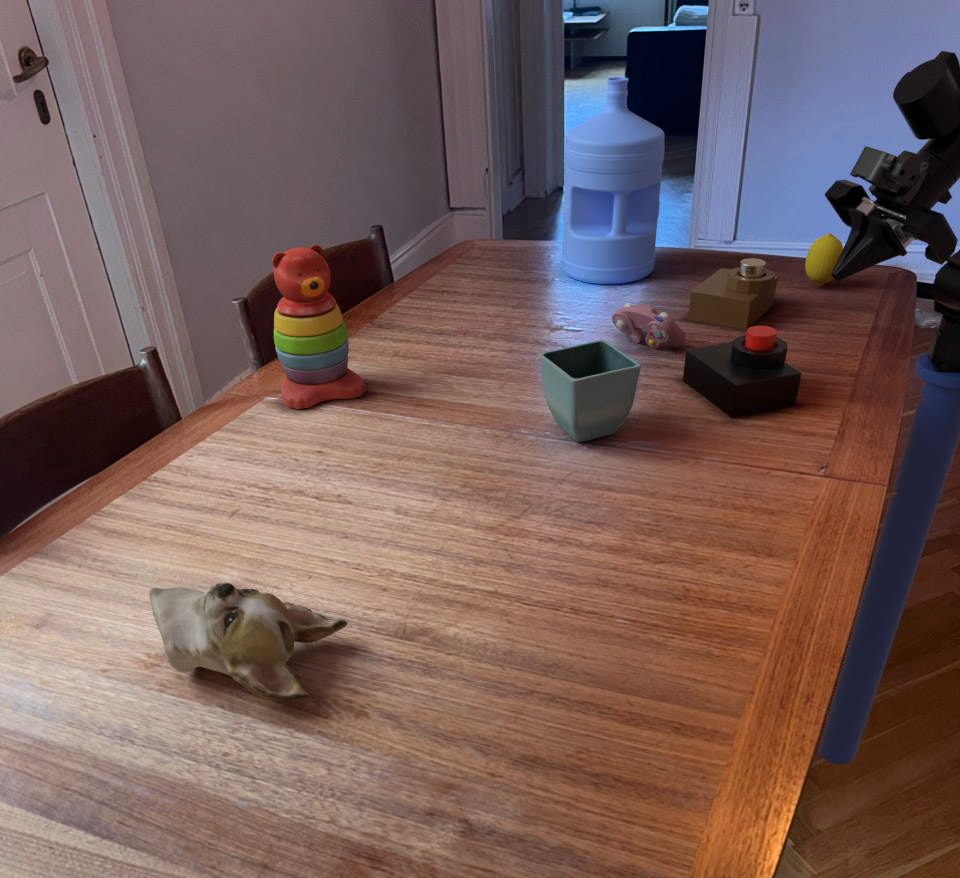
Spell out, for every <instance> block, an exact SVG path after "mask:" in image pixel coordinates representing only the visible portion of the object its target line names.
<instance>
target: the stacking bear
mask: <svg viewBox="0 0 960 878" xmlns="http://www.w3.org/2000/svg"><path fill="white" fill-rule="evenodd" d="M271 264H272V266H273V278H274V282H275V285H276V287H277V289H278V292H279V293H280V294H281V296H282V297H281V298H280V299H279V301H278V303H277V307H276V308H275V311H274V315H273V341H274V342H273V343H274V346H275V352H276V355H277V358H278V360H279V362H280V364H281V367H282V370H283V372H284V374H285V376H284V378H283V380H282V383H281V387H280V395H281V400H282V402H283V403H284V405H285V406H286V407H289V408H290V409H296V410H301V409H308V408H311V407H314V406H315V405H317V404H320V403H322V402H325V401H332V400H338V399H339V400H340V399H341V400H350V399H355V398H359V397H361V396H362V395H364V394H365V393H366V390H367V389H366V384H365V382H364V380H363V378H362V377H361V376H360V375H359V374H357V373H356V372H355V371H354V370H352V369H350V368H349V367H348V366H349V365H348V364H349V351H350V350H349V349H350V345H349V344H350V342H349V333H348V329H347V325H346V322H345V320H344V318H343V315H342V312H341V309H340V307H339V305H338V303H337V300H336V299H335V297H334V296H333V295H332V294H331V293H329V292H328V291H329V288H330V285H331V279H332V278H331V271H330V267H329V264H328V263H327V261H326V259H325V257H324V249H323V248H322V246H320V245H319V244H312V245H309V247H308V248H307V247H293V248H289V249H286V250H285V251H284V252H282V251H277V252H276V253H274V254H273V255H272V257H271Z"/></svg>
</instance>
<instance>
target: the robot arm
mask: <svg viewBox="0 0 960 878" xmlns="http://www.w3.org/2000/svg"><path fill="white" fill-rule="evenodd" d="M892 98H893V101H894V102H895V104H896V106H897V108H898V110H899V111H900V113H901V115H902V116H903V118H904V120H905V122H906V124H907V125H908V127H909V129H910V130H911V132H912V135H913V136H914V137H915V138H916V139H917V140H921V141H922V140H923V141H926V140H927V141H926V142H925V143H924V144H923V145H922V147H921V148H920V149H919V150H918V151H917V152H912V151H909V150H902V152H900V154H898V155H897V156H896V155H894V154H892V153H889V152H886V151H883V150H880V149H877V148H874V147H870V146H866V145H865V146H864V147H863V149H862V151H861V153H860V154H859V157H858V158H857V160H856V162H855V164H854V166H853V168H852V169H851V171H850V174H849V175H850V176H852V177H853V178H858V179H861V180H863V181H865V182H867V183H869V184H871V185H870V186H869V187H868V188H867V189H868V191H869V193H870V194H871V195H872V196H873V197H875V200H874V199H872V198H871V197H870V196H869V194H868V193H867V191H866V190H865V188H864V186H863V185H862V184H859V183H856V182H853V181H851V180H848V179H839V180H835V181H834V183H832V185H831V186H830V187H829V188H828V189H827V190H826V191H825V192H824V196H825V198H826V200H827V201H828V202H829V204H830V206H831V207H832V208H833V210H834V211H835V213H836V214H837V215H838V217H839V219H840V220H841V222H842V223H843V224H844V225H845V226H846V227H849V228H850V232H849V234H848V237H847V239H846V242H845V243H844V246H843V250H842V252H841V254H840V256H839V258H838V260H837V263H836V265H835V267H834V269H833V271H832V273H831V275H832V277H833V278H834V279H833V280H835V281H837V282H840V281H842V280H844V279H847V278H850V277H851V276H853V275H856V274H858V273H860V272H862V271H864V270H866V269H869V268H871V267H873V266H876V265H879V264H881V263H883V262H886V261H888V260H891V259H894V258H897V257H900V256H901V257H905V256H906V255H907V254H908V251H907V250H906V249H907V248H908V247H909V246H910V244H911V243H912V242H913V241H921V242H923V243H925V244H927V246H926V247H925V248H924V249H925V250H924V257H925V258H926V260H929V261H931V262H933V263H936V264H938V265H941V267H940V268H939V269H938V270H937V272H936V273H935V275H934V279H933V283H932V289H931V293H932V298H933V307H934V308H933V310H934V311H933V312H935V313H937V314H941V319H940V322H939V326H938V325H936V326H935V327H934V328H933V331H932V336H931V338H930V342H929V346H928V350H927V352H928V353H927V356H928V358H929V360H930V362H931V364H932V366H933V368H934V370H935V371H936V372H947V373H960V249H958V250H957V251H956V249H957V245H958V241H959V239H958V237H957V236H956V234H955V232H954V231H953V229H952V227H951V226H950V224H949V222H948V220H947V218H946V217H945V215H944V213H942V212H938V211H935V210H933V208H934V206H936V205H937V204H938V203H940V204H942V205H947V203H949V201H951V200H952V198H953V196H952V194H951V192H950V190H951V188H952V187H954V185H955V184H956V183H957V182H958V181H959V180H960V60H959V58H958V56H957V54H956V52H953V51H946V50H940V52H939V53H938V54H937V55H936V56H935V57H934V58H933V59H929V60H927V61H924V62H923V63H920V64H919V65H917V66H916V67H914V68H912V69H911V70H910V71H907V72H906V73H905V74H904V75H903V76H902V77H901V78H900V79H899V80H898V82H897V83H896V85H895V87H894V89H893V92H892ZM945 262H946V263H945Z"/></svg>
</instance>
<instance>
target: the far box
mask: <svg viewBox="0 0 960 878" xmlns="http://www.w3.org/2000/svg"><path fill="white" fill-rule="evenodd" d="M739 268H740V266H739V267H735V268H731V269H729V268H722V267H720V268H719V269H718V270H717V271H715V272H713V274H711V275H710V276H709V277H708V278H707V279H705V280H704V281H703V282H701V283H700V284H698V285H697V286H696V287H695V288H694V289H692V290H691V291H690V296H689V307H688V315H687V320H688V321H690V322H691V321H692V322H697V323H704V324H709V325H714V326H719V327H727V328H732V329H735V330H736V329H737V330H743V331H747V329H748V328H750V327H752V326H753V325H754V323H756V322H757V321H758V320H759V319H760V318H761V317H762V316H763V315H764V314H765V313H766V312H767V311H768V310H770V309H771V308H772V307H773V306H774V305H775V297H776V293H777V286H778V281H779V276H776V274H775V273H774V271H773V270H770V269H767V268H765V273H764V277H762V278H744V277H741V276H739Z"/></svg>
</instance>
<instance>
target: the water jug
mask: <svg viewBox="0 0 960 878" xmlns="http://www.w3.org/2000/svg"><path fill="white" fill-rule="evenodd" d="M606 82H607V90H606V105H605V108H604V109H603V111H601V112H599V113H598V114H596V115H594V116H592V117H590V118H588V119H587V120H584V121H583V122H581V123H579V124H578V125H576V126H574V127H572V128H570V129H569V130H567V132H566V133H565V144H564V147H563V148H564V149H563V163H564V177H563V178H564V180H563V181H564V182H563V202H562V220H563V221H562V222H563V224H562V226H563V227H562V253H561V256H560V265H561V269H562V272H564V274H565V275H567V276H568V277H570V278H571V279H574V280H576V281H580V282H583V283H589V284H598V285H618V284H619V285H620V284H627V283H632V282H636V281H639V280H642V279H644V278H647V277H648V276H649V275H650V274H651V273H652V272H653V271H654V269H655V263H656V244H657V243H656V242H657V232H658V231H657V229H658V219H659V216H660V215H659V214H660V203H661V201H660V198H661V197H660V196H661V184H662V174H663V173H662V171H663V163H664V159H665V151H666V150H665V149H666V148H665V136H666V135H665V131H664V130H663V129H662V128H660V127H658V126H657V125H655V124H653V123H652V122H650V121H648V120H646V119H644V118H643V117H641V116H639V115H637V114H635V112H632V111H630V110H629V108H628V105H627V102H628V95H629V91H628V83H629V78H628V77H624V76H623V77H622V76H621V77H620V76H619V77H618V76H617V77H609V78H607V81H606Z"/></svg>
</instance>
